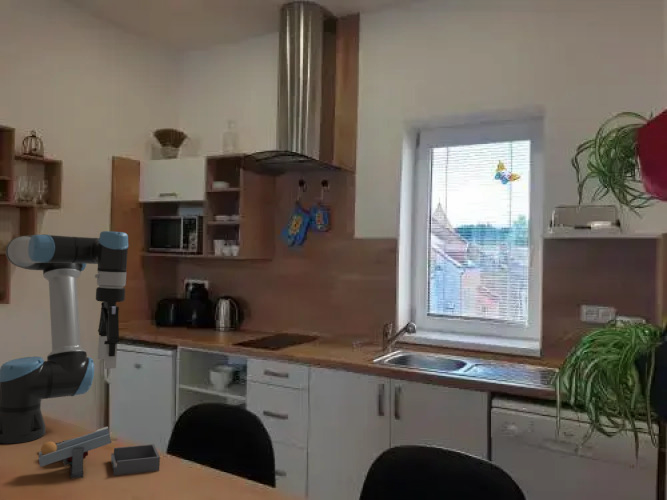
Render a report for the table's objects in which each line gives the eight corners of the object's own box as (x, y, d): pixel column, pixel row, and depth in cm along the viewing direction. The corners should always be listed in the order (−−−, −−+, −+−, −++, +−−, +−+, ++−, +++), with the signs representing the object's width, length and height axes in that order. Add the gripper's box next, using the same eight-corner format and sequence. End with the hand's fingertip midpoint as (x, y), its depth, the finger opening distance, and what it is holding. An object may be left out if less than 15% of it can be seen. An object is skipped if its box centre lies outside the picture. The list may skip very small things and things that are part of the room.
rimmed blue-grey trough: (42, 451, 150) (40, 442, 150) (108, 429, 157) (106, 421, 157) (40, 467, 139) (38, 458, 139) (111, 443, 146) (109, 434, 146)
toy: (36, 463, 156) (63, 466, 147) (35, 440, 157) (62, 442, 148) (66, 456, 163) (94, 458, 154) (66, 434, 164) (93, 435, 155)
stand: (70, 466, 148) (71, 439, 149) (82, 465, 150) (84, 438, 150) (70, 478, 141) (71, 449, 141) (83, 477, 142) (84, 448, 142)
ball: (44, 456, 144) (38, 444, 143) (59, 449, 145) (53, 437, 144) (44, 461, 140) (38, 448, 140) (59, 453, 142) (53, 441, 141)
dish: (111, 460, 154) (111, 448, 154) (153, 456, 159) (154, 444, 159) (114, 475, 144) (114, 461, 144) (159, 470, 149) (159, 457, 149)
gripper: (90, 283, 165) (86, 355, 164) (103, 290, 143) (98, 373, 143) (117, 284, 168) (113, 354, 168) (133, 290, 147) (128, 371, 146)
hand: (106, 363), depth 155 cm, fingers open, 13 cm apart
